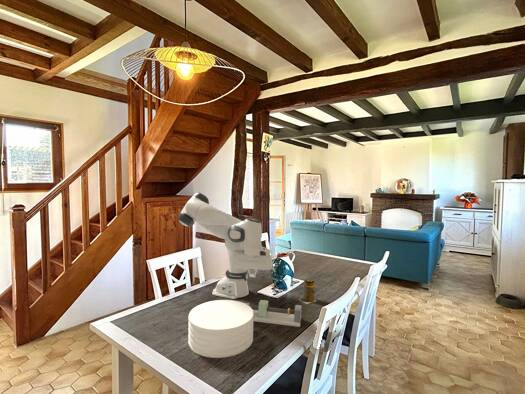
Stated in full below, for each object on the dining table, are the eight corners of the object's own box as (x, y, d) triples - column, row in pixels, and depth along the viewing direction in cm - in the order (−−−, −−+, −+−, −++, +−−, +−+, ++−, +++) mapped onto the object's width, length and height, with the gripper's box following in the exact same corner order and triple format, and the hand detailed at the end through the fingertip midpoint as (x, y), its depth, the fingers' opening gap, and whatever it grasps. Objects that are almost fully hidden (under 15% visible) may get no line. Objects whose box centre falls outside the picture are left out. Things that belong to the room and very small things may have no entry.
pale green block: (258, 316, 142) (258, 303, 142) (260, 312, 147) (260, 299, 146) (266, 317, 141) (266, 304, 141) (267, 313, 146) (268, 300, 145)
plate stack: (217, 367, 105) (217, 337, 104) (175, 339, 123) (175, 313, 122) (266, 337, 126) (266, 312, 125) (223, 317, 144) (224, 295, 144)
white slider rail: (239, 319, 141) (239, 305, 141) (245, 310, 151) (245, 297, 151) (299, 326, 135) (300, 312, 135) (301, 317, 145) (301, 303, 145)
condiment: (317, 301, 165) (317, 281, 165) (306, 304, 161) (307, 283, 160) (308, 296, 171) (309, 277, 171) (298, 299, 167) (298, 279, 166)
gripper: (231, 250, 143) (231, 277, 143) (271, 253, 138) (270, 280, 139) (235, 247, 149) (234, 273, 150) (273, 250, 145) (273, 276, 145)
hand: (252, 277), depth 144 cm, fingers closed
